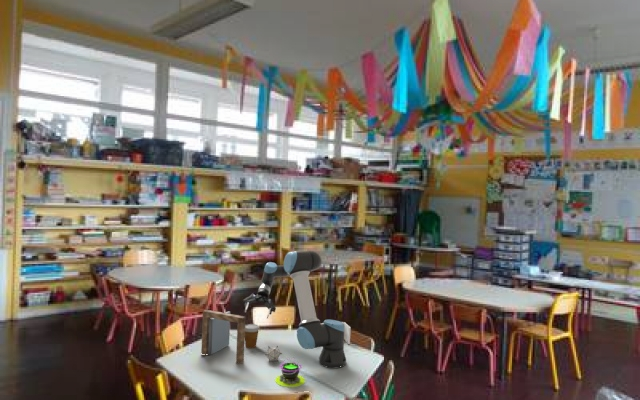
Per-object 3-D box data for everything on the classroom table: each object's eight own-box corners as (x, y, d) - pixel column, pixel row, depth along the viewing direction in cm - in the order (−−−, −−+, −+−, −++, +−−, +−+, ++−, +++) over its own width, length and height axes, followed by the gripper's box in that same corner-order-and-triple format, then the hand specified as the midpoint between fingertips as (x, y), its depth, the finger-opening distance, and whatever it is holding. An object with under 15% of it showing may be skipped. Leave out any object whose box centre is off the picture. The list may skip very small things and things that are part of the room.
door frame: (243, 362, 250) (245, 316, 249) (240, 363, 247) (242, 318, 246) (204, 353, 260) (206, 309, 259) (201, 354, 257) (202, 310, 256)
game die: (274, 368, 252) (278, 358, 246) (261, 361, 253) (264, 351, 247) (282, 356, 259) (285, 346, 252) (268, 349, 260) (271, 339, 254)
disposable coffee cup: (258, 343, 280) (259, 323, 279) (258, 349, 270) (259, 328, 270) (242, 343, 278) (243, 323, 278) (242, 349, 269) (243, 328, 268)
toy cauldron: (269, 379, 230) (270, 357, 230) (293, 372, 240) (294, 351, 239) (286, 390, 219) (287, 367, 218) (311, 382, 228) (312, 360, 228)
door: (209, 355, 256) (211, 319, 255) (204, 354, 257) (205, 318, 256) (229, 344, 273) (230, 311, 272) (224, 343, 274) (225, 310, 273)
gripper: (281, 302, 292) (275, 324, 272) (243, 292, 291) (235, 313, 271) (283, 293, 289) (278, 314, 269) (245, 282, 288) (237, 303, 268)
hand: (256, 313), depth 270 cm, fingers open, 13 cm apart
